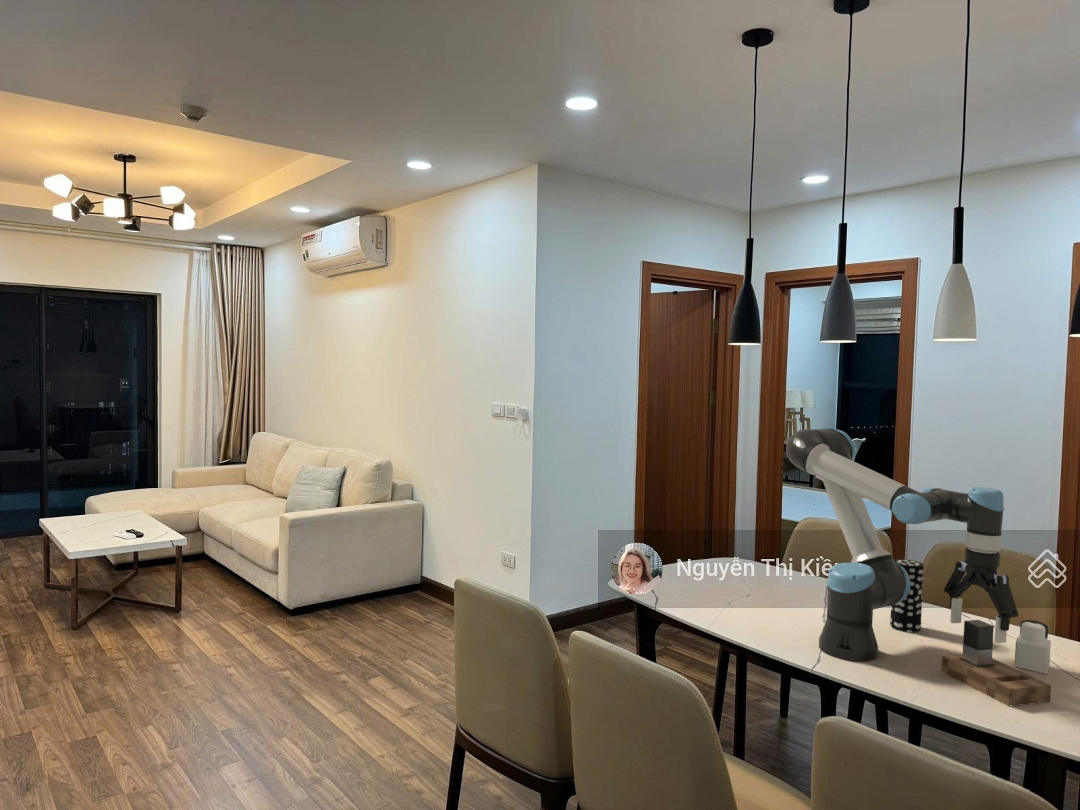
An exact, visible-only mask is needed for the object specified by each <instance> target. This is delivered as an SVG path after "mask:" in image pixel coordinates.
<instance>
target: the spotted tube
mask: <svg viewBox="0 0 1080 810" xmlns="http://www.w3.org/2000/svg"><path fill="white" fill-rule="evenodd" d="M893 560H894V562H895V563H897V564H899V565H900V566H902V567H903V568H904V569H905V570H906V571H907V573H908V575H909V578H910V591H909V593H908V595H907V597H906V598H905V599H904V600H903V601H901V602H899V603H897V604H895V605H892V606H890V619H889V620H890V621H889V622H890V623H889V625H890V627H891V629H894V630H895V631H900V632H905V633H919V632H921V630H922V609H923V608H922V607H923V606H922V605H923V590H924V589H923V588H924V586H923V585H924V570H925V569H924V567H925V565H924V563H923V562H920V561H917V560H912V559H902V558H897V559H893Z"/></svg>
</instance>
